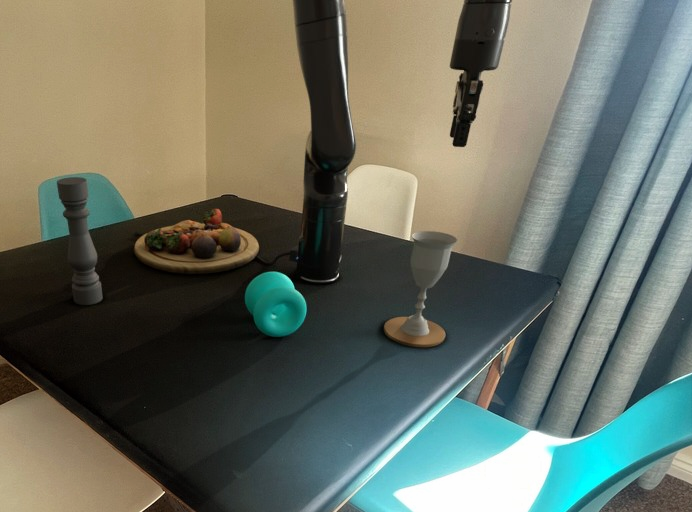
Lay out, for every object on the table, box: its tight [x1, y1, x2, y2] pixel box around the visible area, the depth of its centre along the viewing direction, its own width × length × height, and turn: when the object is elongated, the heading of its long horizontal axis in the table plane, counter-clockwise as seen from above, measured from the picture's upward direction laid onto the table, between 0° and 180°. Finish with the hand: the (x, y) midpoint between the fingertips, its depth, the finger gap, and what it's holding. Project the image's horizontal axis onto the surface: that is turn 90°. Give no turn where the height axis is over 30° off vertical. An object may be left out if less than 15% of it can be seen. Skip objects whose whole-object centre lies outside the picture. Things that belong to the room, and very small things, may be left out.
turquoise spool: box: [244, 271, 308, 338], centre depth 105 cm, size 10×10×10 cm
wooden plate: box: [133, 208, 260, 275], centre depth 140 cm, size 32×32×8 cm
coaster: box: [383, 316, 446, 348], centre depth 105 cm, size 11×11×1 cm
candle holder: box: [56, 176, 104, 306], centre depth 113 cm, size 6×6×25 cm
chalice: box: [401, 230, 458, 336], centre depth 100 cm, size 7×7×18 cm
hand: (457, 141), depth 98 cm, fingers open, 8 cm apart
